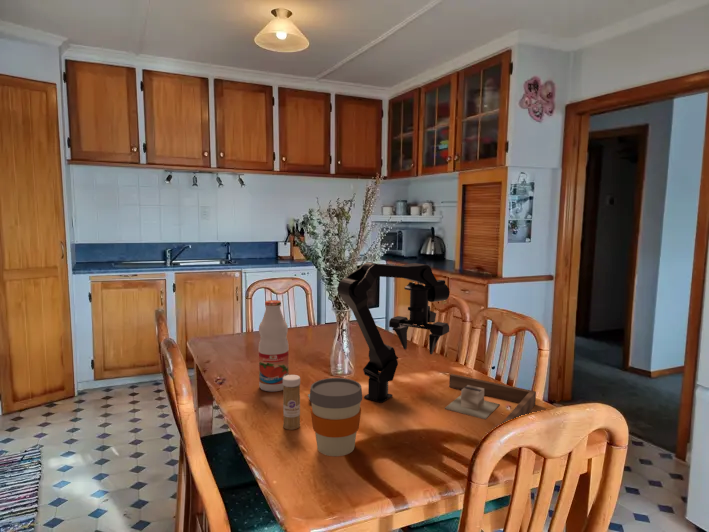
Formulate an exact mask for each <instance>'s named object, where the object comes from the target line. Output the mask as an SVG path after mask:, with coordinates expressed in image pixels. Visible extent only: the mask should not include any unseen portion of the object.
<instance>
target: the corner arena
mask: <svg viewBox="0 0 709 532" xmlns="http://www.w3.org/2000/svg"><path fill="white" fill-rule="evenodd" d="M448 382H449V385H448V386H449V387H448V388H453V389H457V390H462V389H463V388H465V387H466V386H467V385H471V386H475V387H480V388H484V396H488V397H493V398H496V399H501V400H506V401H510V402H514V403H518V404H517V405H516V406H515V407H514V408H513V409H512V411H511V412H510V413H509V414H508V415H507V416H506V417H505V419H504V420H503V421H502V422H501V423H500V425H501V424H502V423H504V422H506V421H508V420H511V419H514V418H516V417H519V416H521V415H525V414H527V413H528V414H529V413H530V412H531V411H532V409H533V408H534V407H535V405H536V397H537V391H536V390H530V389H525V388H522V387H517V386H512V385H507V384H502V383H498V382H492V381H487V380H483V379H478V378H473V377H468V376H463V375H459V374H456V373H455V374H454V373H451V374H449V381H448ZM499 406H500V403H496V402H493V401H488V400H485V399H484V405H483V406H482V407H481V408H480V409H479V410H478V411H476V410H472V409H468V408H464V407H461V394H460V395H459V396H458V397H456V398H455V399H454V400H452V401H451V402H450V403H448V405H446V406H445V407H444V410H449V411H453V412H456V413H461V414H463V415H468V416H471V417H475V418H479V419H481V420H482V419H483V420H486V419H488V418H489V416H491V414H492V413H493V412H494V411H495V410H496V409H498V407H499ZM528 414H527V415H528Z"/></svg>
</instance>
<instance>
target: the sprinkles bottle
mask: <svg viewBox="0 0 709 532" xmlns="http://www.w3.org/2000/svg"><path fill="white" fill-rule="evenodd" d="M300 386H301V377H300V375H297V374H289V375H286V376H284V377H283V390H282V391H283V393H282V395H283V396H282V410H283V411H282V413H283V416H282V417H283V424H282V428H284V429H286V430H290V431H291V430H293V431H294V430H298V429H299V428H300V427H301V394H300V393H301V389H300Z"/></svg>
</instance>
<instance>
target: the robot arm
mask: <svg viewBox="0 0 709 532" xmlns="http://www.w3.org/2000/svg"><path fill="white" fill-rule="evenodd" d="M377 277H383V278H397V279H405V280H407V281H409V282H408V284H407V285H405V287H404V290H406V291H409V293H410V295H409V306H408V307H407V311H409V319H408V317H407V316H401V315H397V316H393V317H391V318H390V319H389V322H388V327H389V328H392V331H394V332H395V333H396V335H397V337H398V340H399V342H400V343H401V346H402V348H403V350H407V348H408V330H409V327H410V328H416V329H422V330H427V331H429V332H430V334H429V335H428V341H429V342H428V344H429V345H428V348H429V349H428V351H429V355H433V354H434V351H435V349H436V345H437V344H438V341H439V339H440V338H441V337H442V336H445V335H446V334H448V333H450V325H449V323H448V322H442V321H436V318H437V313H436V312H435V311H433V310H431V306H430V305H429V302H430V303H435V302H441V301H442V302H443V301H447V300H448V299H449V297H450V289H449V287H448V285H447V284H446V280H444V279H438V280H437V279H436V276H435V275H434V273H433V270H432V268H431V266H430V265H429V264H423V263H415V262H413V263H411V262H410V263H407V264H402V265H399V264H398V265H397V264H384V263H376V262H365V263H363V264H362V265H361V266H360V267H359V268H357V269H355V270H354V271H353V272H351V273H349V275H347V276H346V277H345V278H343V279H341V280H340V281H339V282H338V285H337V288H336V289H337V294H338V295H339V297H340V298H341V299H342V301H343V302H344V303H345V304H346V306H348V307H349V308H350V309H351V311H352V313H353V315H354V317H355V320H356V322H357V324H358V327H359V328H360V331H361V334H362V335H363V337H364V340H365V342H366V344H367V347H368V360H369V361H368V362H367V363H366V365H365V366H364V367H363V369H362V371H363V373H364V375H365V376H367V377H368V386H367V387H368V392H367V393H368V394H365V395H363V396H364V397H363V398H364V399H366V400H370V401H374V402H376V403H384V402H386V401H387V400H389V399H391V398H392V397H393V394H391V393H389V382H392V381H393V380H394V377H395V374H396V370H397V367H398V366H399V361H398V359H399V357H398V355H397V353H396V351H395V348H394V347H393V346H390V345H388V344H386V343H384V340H383V338H382V335H381V334H380V331H379V328H378V327H377V324H376V322H375V320H374V317H373V315H372V312H371V311H370V308H369V306H368V300H369V295H368V291H369V289H371V288H372V286H373V285H374V282H375V279H377ZM415 282H416V283H415Z"/></svg>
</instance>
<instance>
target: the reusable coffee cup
mask: <svg viewBox="0 0 709 532" xmlns="http://www.w3.org/2000/svg"><path fill="white" fill-rule="evenodd" d="M309 390H310V391H309V394H310V400H309V401H310V403H311V408H310V415H311V424H312V429H313V431H314V433H315V440H316V448H317V451H318V452H319V453H321V454H322V455H325V456H328V457H329V456H330V457H341V456H347V455H349V454H350V453H352V452H353V451H354V449H355V446H356V440H357V432H358V430H359V427H360V421H361V414H362V408H361V403H362V401H363V391H362V385H361V383H359V382H358V381H356V380H353V379H350V378H346V377H345V378H344V377H328V378H322V379H319V380H317V381H315V382H313V383H312V384H311V385H310V389H309Z"/></svg>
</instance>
